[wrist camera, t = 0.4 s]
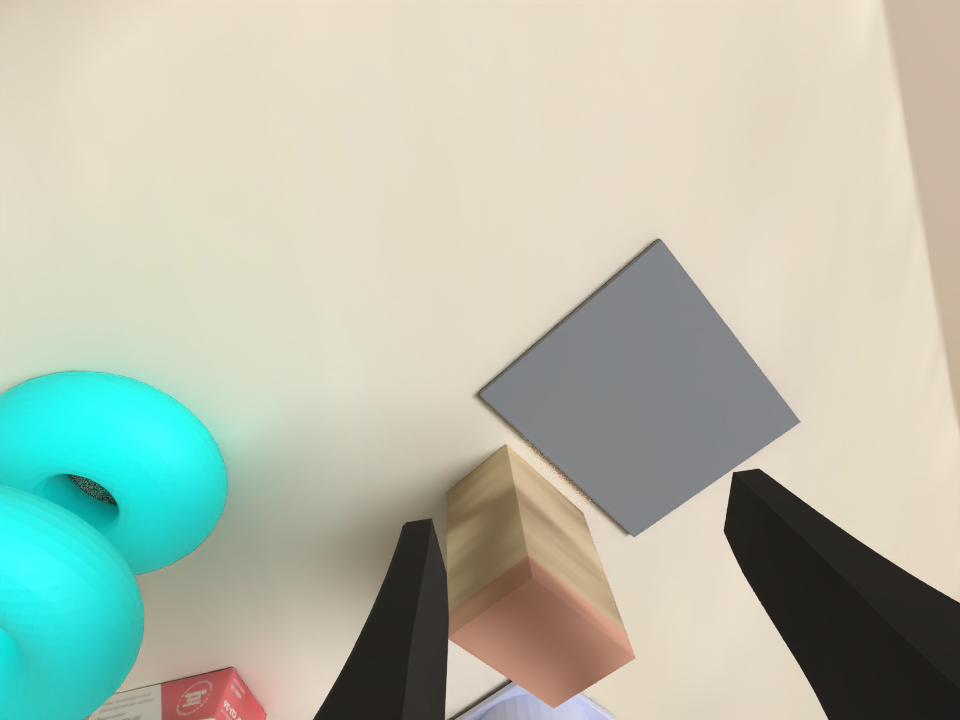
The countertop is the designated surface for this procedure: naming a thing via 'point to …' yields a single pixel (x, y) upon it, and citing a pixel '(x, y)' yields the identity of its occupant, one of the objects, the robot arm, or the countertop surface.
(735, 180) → the countertop surface
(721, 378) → the rubber mat
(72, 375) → the donuts
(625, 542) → the countertop surface
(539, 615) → the oak block
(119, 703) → the ink cartridge box
